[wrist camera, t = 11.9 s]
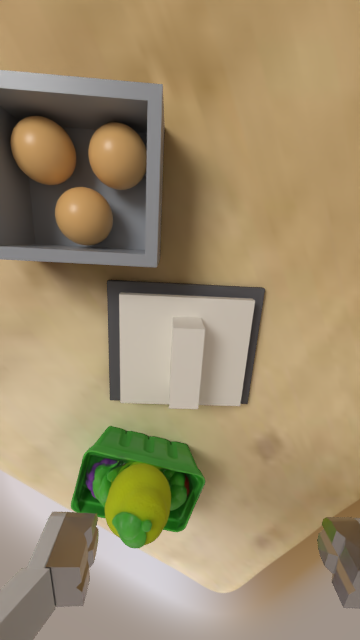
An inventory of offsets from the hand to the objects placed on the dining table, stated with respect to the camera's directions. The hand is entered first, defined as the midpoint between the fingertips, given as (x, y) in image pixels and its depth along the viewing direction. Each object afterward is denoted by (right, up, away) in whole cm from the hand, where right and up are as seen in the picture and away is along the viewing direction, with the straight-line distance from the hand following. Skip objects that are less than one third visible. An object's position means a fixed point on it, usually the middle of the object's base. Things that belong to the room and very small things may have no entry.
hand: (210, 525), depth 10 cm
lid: (-1, +5, +15) cm, 16 cm away
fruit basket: (-5, -7, +20) cm, 22 cm away
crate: (-8, +18, +12) cm, 23 cm away
